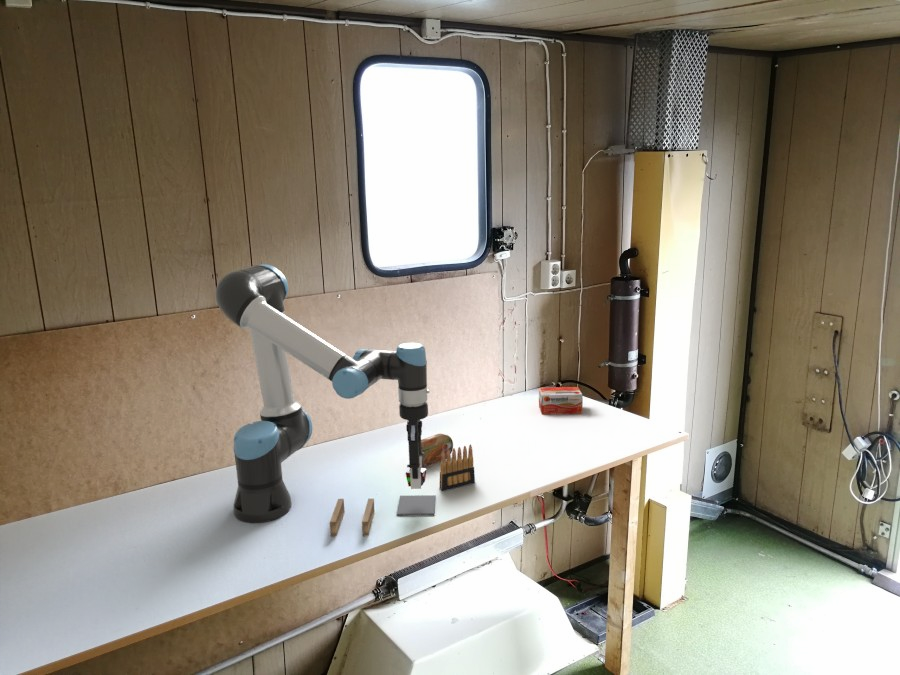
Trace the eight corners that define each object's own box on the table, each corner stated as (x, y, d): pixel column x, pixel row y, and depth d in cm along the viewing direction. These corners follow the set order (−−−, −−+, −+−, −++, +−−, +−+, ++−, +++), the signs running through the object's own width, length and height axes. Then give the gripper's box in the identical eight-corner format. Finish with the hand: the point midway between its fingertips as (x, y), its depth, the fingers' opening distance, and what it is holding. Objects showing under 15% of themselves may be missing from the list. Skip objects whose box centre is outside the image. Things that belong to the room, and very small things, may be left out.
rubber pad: (396, 515, 183) (396, 513, 182) (400, 497, 192) (400, 495, 192) (434, 515, 182) (434, 513, 182) (435, 497, 192) (435, 495, 192)
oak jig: (330, 536, 173) (329, 521, 172) (339, 512, 185) (338, 498, 184) (368, 535, 173) (367, 521, 172) (374, 512, 185) (373, 498, 184)
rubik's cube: (421, 490, 183) (423, 473, 182) (403, 485, 185) (406, 468, 183) (426, 483, 187) (428, 467, 185) (409, 478, 188) (411, 462, 187)
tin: (415, 470, 209) (414, 445, 206) (409, 467, 211) (408, 442, 209) (454, 457, 218) (453, 432, 216) (447, 454, 220) (447, 429, 218)
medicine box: (541, 415, 252) (541, 394, 250) (538, 407, 260) (538, 387, 258) (582, 414, 252) (583, 393, 250) (578, 406, 260) (578, 386, 258)
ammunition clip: (442, 491, 196) (441, 452, 193) (439, 488, 197) (438, 449, 194) (475, 483, 200) (474, 444, 197) (472, 480, 202) (471, 442, 199)
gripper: (425, 414, 171) (428, 499, 177) (429, 390, 188) (432, 468, 194) (395, 414, 171) (399, 499, 177) (402, 390, 188) (405, 468, 194)
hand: (416, 482), depth 185 cm, fingers closed on rubik's cube, 5 cm apart
